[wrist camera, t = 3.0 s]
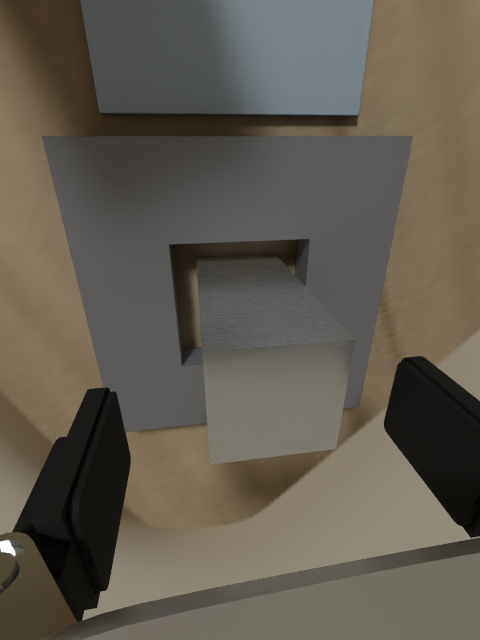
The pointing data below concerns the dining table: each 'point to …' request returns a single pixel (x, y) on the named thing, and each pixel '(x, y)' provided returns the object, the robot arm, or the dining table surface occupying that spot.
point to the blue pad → (228, 56)
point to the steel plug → (268, 361)
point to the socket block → (213, 227)
